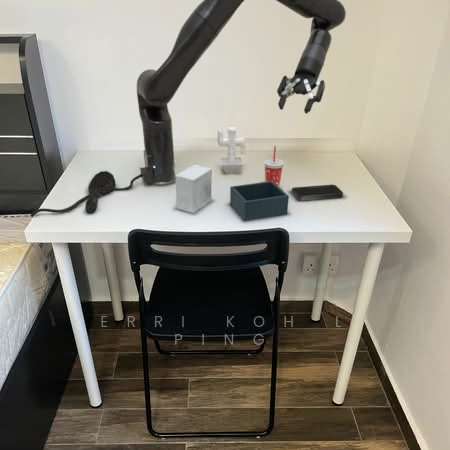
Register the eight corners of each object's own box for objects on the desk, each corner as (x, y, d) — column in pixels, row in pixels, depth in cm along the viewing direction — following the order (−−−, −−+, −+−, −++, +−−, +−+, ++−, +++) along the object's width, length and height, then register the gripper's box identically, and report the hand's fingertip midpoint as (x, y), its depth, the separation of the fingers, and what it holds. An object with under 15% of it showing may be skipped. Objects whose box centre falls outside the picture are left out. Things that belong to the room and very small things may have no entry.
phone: (344, 194, 143) (298, 197, 141) (343, 197, 144) (298, 200, 141) (334, 184, 149) (290, 187, 147) (334, 187, 150) (290, 190, 148)
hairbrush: (73, 204, 131) (91, 168, 151) (75, 216, 134) (93, 178, 153) (102, 205, 132) (116, 168, 151) (104, 216, 134) (118, 179, 153)
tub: (244, 221, 130) (244, 202, 127) (229, 204, 139) (230, 186, 136) (287, 214, 134) (289, 195, 131) (270, 198, 143) (272, 180, 139)
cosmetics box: (194, 214, 134) (193, 179, 127) (176, 209, 136) (174, 175, 130) (212, 200, 141) (212, 167, 135) (194, 196, 144) (193, 163, 137)
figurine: (245, 174, 158) (247, 130, 149) (218, 175, 157) (218, 131, 149) (243, 167, 164) (244, 124, 155) (216, 167, 163) (216, 124, 154)
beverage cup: (260, 186, 151) (263, 143, 142) (279, 185, 151) (282, 142, 143) (264, 193, 146) (267, 149, 137) (283, 193, 146) (287, 149, 138)
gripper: (287, 53, 144) (269, 99, 143) (330, 57, 138) (312, 106, 137) (292, 69, 151) (275, 113, 150) (334, 74, 145) (316, 120, 144)
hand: (293, 110), depth 143 cm, fingers open, 8 cm apart
